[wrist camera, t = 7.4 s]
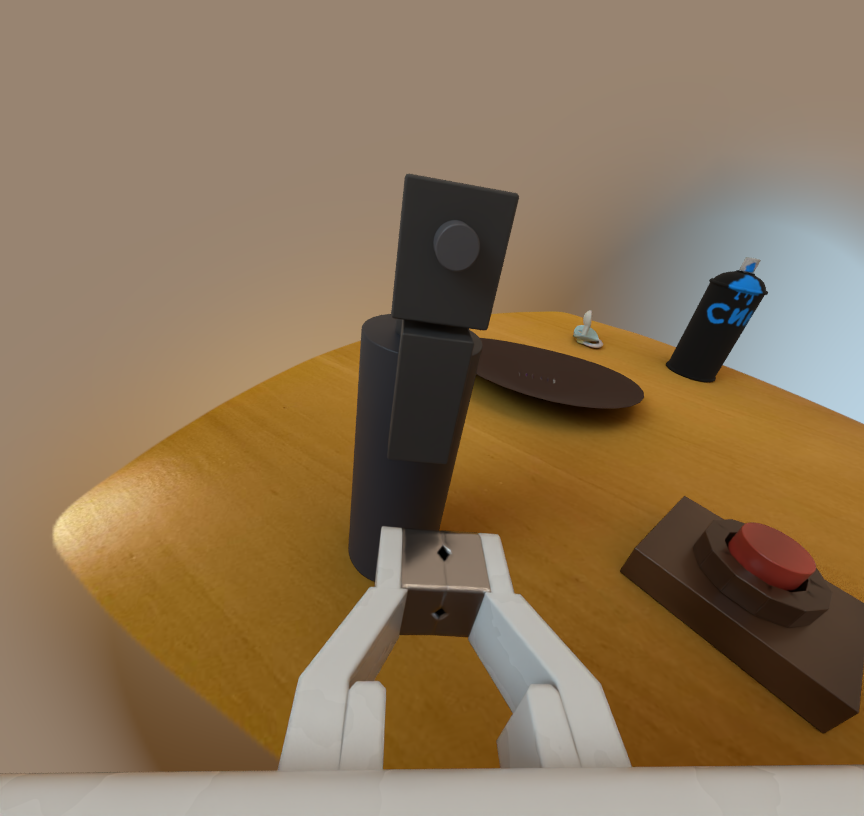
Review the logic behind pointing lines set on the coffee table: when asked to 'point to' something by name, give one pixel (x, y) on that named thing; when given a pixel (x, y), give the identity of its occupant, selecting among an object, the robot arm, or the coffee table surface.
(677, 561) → the button block
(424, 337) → the block
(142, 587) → the coffee table surface
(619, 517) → the coffee table surface
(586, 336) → the pacifier
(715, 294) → the aerosol can
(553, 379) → the plate
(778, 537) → the button
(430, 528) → the spray bottle
